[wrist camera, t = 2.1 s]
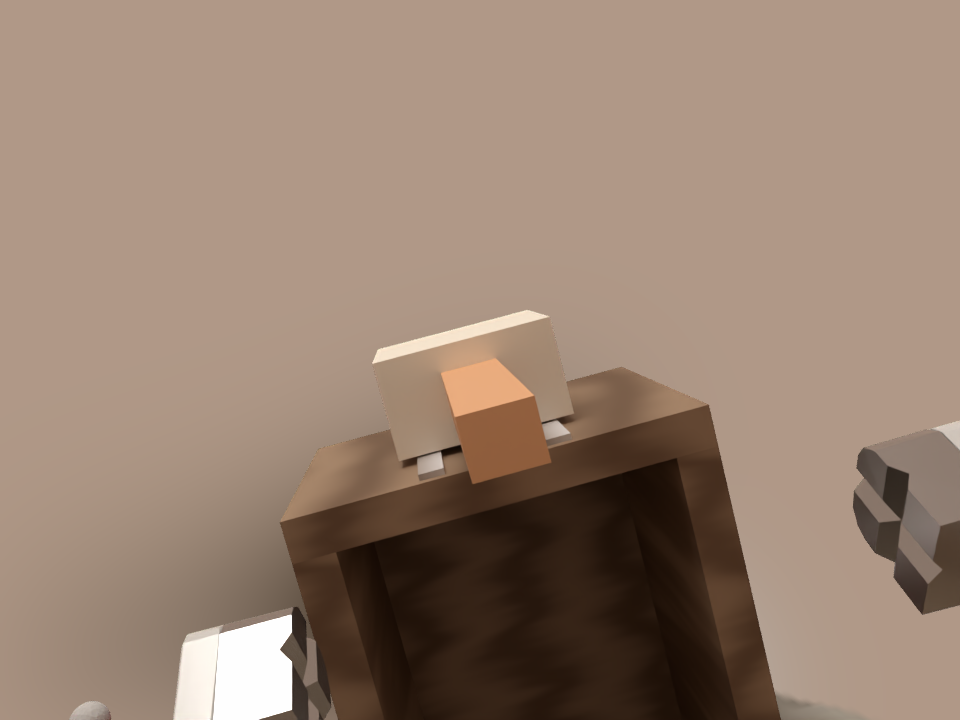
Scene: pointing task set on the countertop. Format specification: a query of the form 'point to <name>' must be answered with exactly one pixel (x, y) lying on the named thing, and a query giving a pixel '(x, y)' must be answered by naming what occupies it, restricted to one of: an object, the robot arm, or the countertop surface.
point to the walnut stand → (536, 573)
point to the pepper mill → (91, 712)
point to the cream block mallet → (476, 393)
